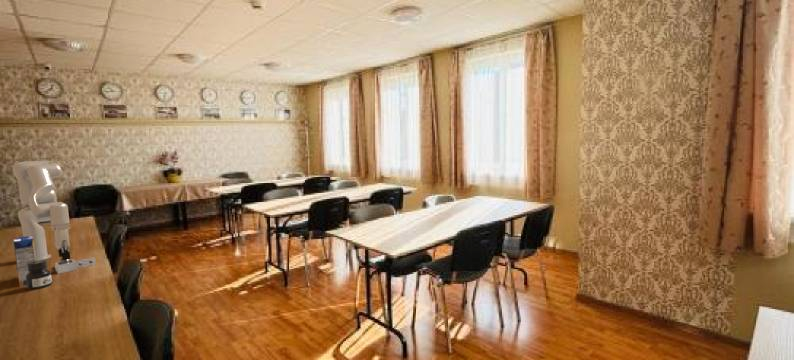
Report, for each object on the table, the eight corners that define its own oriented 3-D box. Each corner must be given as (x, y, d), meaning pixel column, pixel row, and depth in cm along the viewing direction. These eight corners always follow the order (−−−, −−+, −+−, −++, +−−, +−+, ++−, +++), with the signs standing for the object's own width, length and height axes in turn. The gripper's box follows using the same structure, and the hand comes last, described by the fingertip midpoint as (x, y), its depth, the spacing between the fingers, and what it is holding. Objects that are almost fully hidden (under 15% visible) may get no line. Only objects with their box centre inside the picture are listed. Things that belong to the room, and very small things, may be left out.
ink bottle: (36, 290, 184) (32, 265, 183) (21, 289, 186) (18, 265, 185) (57, 283, 194) (54, 259, 192) (43, 282, 195) (40, 258, 194)
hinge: (52, 267, 219) (51, 259, 219) (90, 260, 232) (89, 252, 231) (58, 273, 208) (57, 265, 207) (97, 265, 220) (96, 257, 220)
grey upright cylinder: (60, 270, 213) (59, 258, 212) (70, 268, 216) (68, 256, 215) (62, 272, 211) (60, 259, 210) (71, 270, 214) (70, 257, 213)
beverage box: (19, 286, 191) (13, 241, 189) (19, 280, 199) (13, 238, 197) (38, 282, 196) (33, 238, 193) (37, 277, 204) (32, 235, 201)
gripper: (48, 226, 214) (52, 256, 216) (54, 230, 202) (58, 262, 204) (66, 223, 219) (70, 253, 221) (73, 227, 208) (76, 259, 210)
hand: (64, 257), depth 213 cm, fingers open, 9 cm apart
